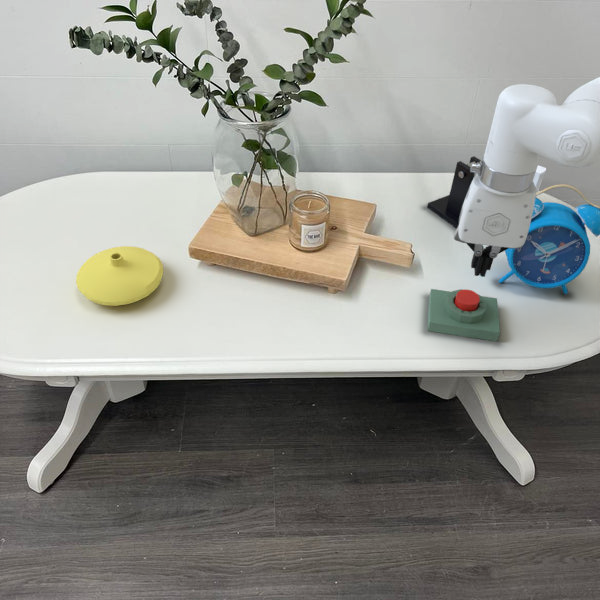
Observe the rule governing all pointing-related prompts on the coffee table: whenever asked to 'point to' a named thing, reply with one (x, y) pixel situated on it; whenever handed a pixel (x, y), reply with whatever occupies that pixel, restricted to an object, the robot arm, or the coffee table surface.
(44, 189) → the coffee table surface
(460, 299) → the button
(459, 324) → the button box
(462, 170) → the bracket
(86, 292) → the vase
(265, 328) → the coffee table surface
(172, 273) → the coffee table surface
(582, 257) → the alarm clock
